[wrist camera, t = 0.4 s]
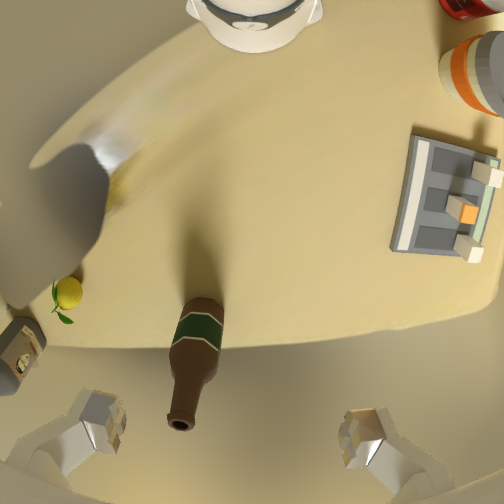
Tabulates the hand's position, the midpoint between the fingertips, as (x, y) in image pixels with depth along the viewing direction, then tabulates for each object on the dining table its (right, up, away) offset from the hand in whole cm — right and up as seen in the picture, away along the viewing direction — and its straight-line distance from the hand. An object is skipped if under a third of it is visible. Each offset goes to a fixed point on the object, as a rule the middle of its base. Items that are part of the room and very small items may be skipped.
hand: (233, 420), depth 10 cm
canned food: (+34, +47, +20) cm, 61 cm away
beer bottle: (-8, -5, +46) cm, 47 cm away
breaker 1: (+37, +8, +37) cm, 53 cm away
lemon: (-33, 0, +44) cm, 55 cm away
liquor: (-52, -13, +51) cm, 74 cm away
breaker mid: (+33, +14, +34) cm, 49 cm away
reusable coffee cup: (+34, +34, +26) cm, 55 cm away
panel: (+34, +14, +36) cm, 51 cm away
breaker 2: (+38, +19, +31) cm, 53 cm away
